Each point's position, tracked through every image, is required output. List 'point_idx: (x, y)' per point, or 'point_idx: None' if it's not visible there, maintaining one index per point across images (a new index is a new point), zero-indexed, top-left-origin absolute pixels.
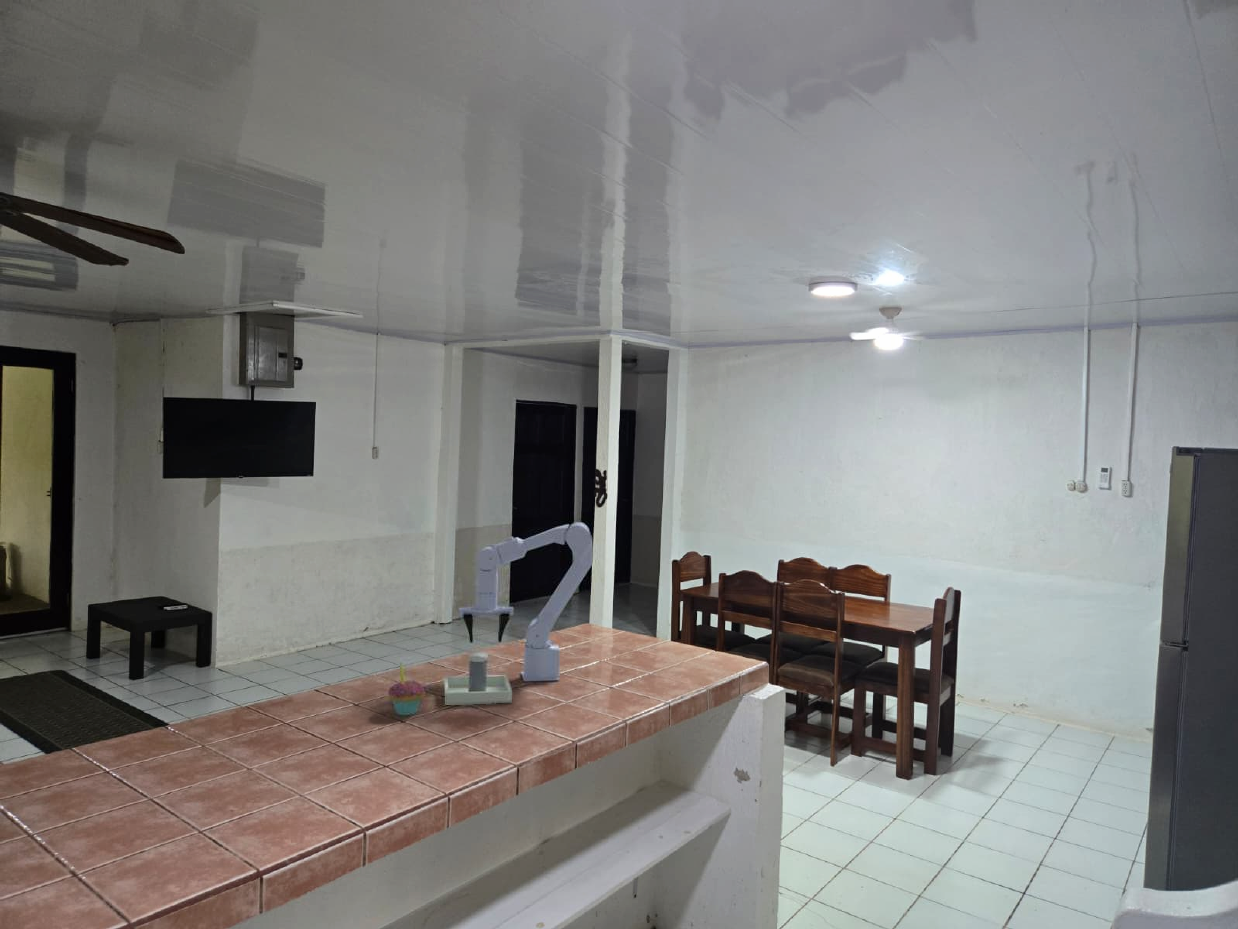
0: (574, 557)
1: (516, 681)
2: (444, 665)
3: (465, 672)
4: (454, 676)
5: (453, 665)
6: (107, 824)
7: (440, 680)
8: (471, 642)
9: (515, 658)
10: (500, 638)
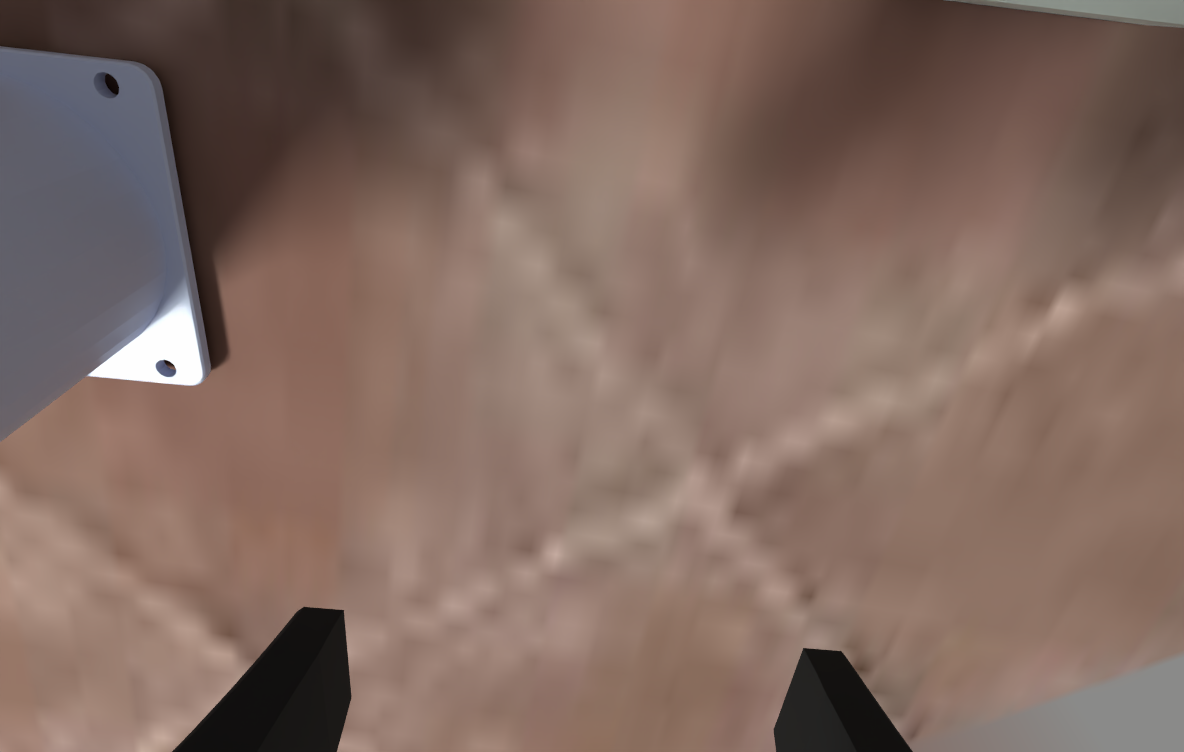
0: None
1: (257, 122)
2: None
3: (730, 505)
4: (1118, 14)
5: (773, 671)
6: None
7: (1039, 329)
8: (824, 652)
9: None
10: (285, 654)
